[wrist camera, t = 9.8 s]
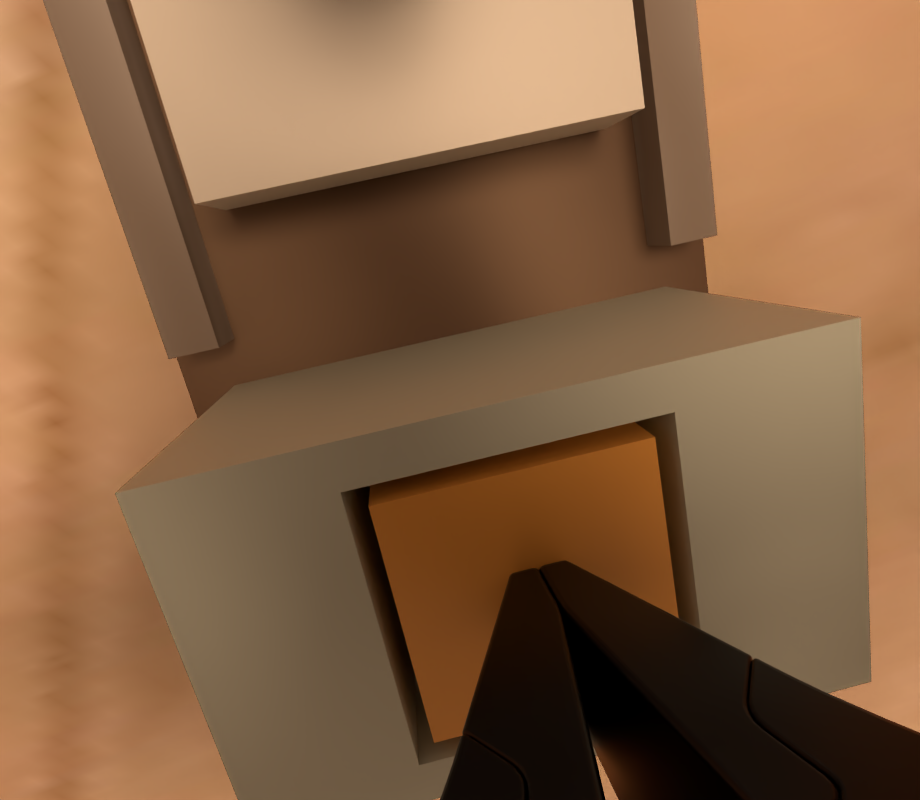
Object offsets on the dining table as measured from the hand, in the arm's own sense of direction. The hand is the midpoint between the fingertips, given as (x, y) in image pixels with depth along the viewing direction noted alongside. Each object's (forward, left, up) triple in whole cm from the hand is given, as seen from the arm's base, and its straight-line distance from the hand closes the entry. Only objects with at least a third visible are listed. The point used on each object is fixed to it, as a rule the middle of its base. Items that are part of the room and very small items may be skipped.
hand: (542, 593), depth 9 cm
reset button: (0, 0, -5) cm, 5 cm away
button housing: (0, 0, -6) cm, 6 cm away
